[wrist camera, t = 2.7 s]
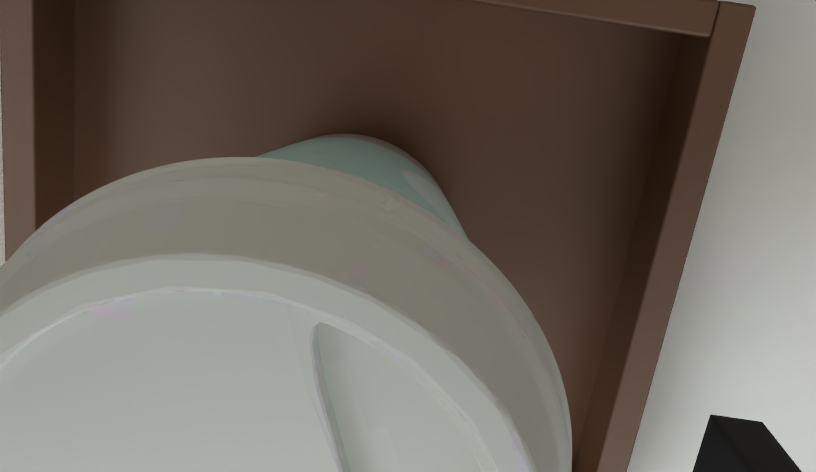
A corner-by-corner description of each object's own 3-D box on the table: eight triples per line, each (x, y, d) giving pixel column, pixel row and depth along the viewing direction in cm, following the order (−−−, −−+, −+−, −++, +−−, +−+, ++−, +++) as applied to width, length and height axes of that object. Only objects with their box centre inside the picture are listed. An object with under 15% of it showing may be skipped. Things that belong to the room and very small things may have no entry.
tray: (715, 6, 18) (758, 5, 16) (587, 495, 23) (604, 553, 20) (53, -97, 18) (-6, -112, 16) (55, 416, 22) (9, 464, 20)
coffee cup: (445, 414, 21) (455, 889, 10) (162, 327, 21) (-174, 720, 9) (553, 139, 19) (734, 349, 7) (233, 32, 18) (-109, 78, 7)
